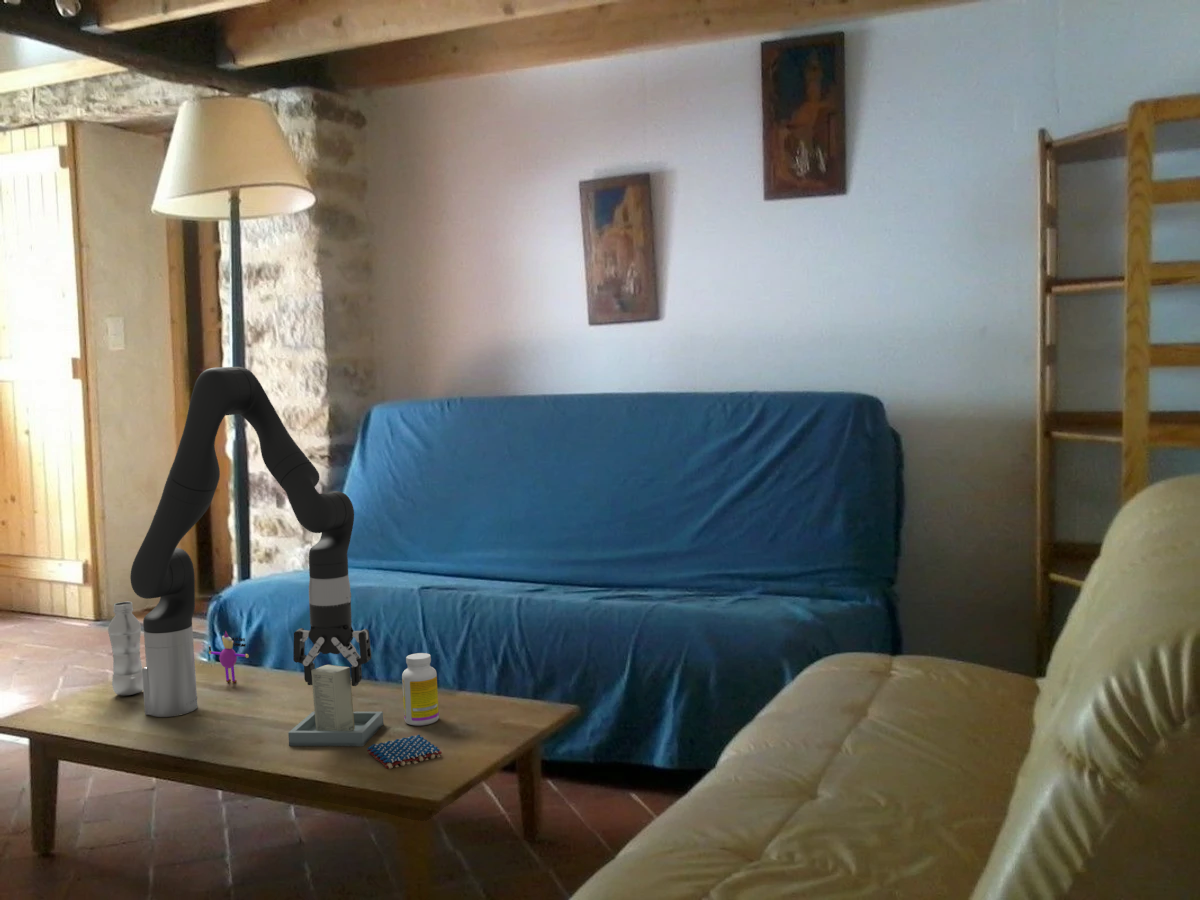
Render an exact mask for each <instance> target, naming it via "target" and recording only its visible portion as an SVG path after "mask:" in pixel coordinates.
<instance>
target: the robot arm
mask: <svg viewBox="0 0 1200 900" xmlns="http://www.w3.org/2000/svg"><path fill="white" fill-rule="evenodd" d="M233 415H234V416H235V415H240V416H241V417H243V418H244V419H245V420H246V422H248V423H249V424H250V426H251V427H252V428H253V429H254V431H255V433H256V436H257V437H258V441H259V449H260V453H261V458H262V461H263V463H264V465H265V467H266V468H267V470H268V471H269V473H270V474H271V475H272V477H273V478H274V479H275V481H276V483H278V485H279V486H280V487H281V488H282V490H284V492H285V493H286V496H287V500H288V503H289V504H290V507H291V509H292V512H293V514H294V516H295V518H296V520H297V521H298V523H299V524H300V525H301V526H302V527H303V528H304V529H305V530H307V531H308V532H310V533H313V534H321V535H320V539H319V540H318V542H317V543H315V544H314V545H313V546H311V547H310V549H309V550H308V551H309V552H308V571H309V572H308V573H309V582H308V603H309V624H310V625H309V626H310V628H309V630H305V629H304V628H303V627H301V628H298V629H297V630H296V631H294V632H293V650H292V651H293V654H292V655H293V658H292V659H293V663H299V664H301V665H302V666H303V676H304V682H305V683H307V686H312V674H311V670H313V669H316V664H315V662H314V661H315V659H316V658H317V656H318V655H319V654H320V653H321V654H322V655H327V654H333V655H340V654H341V655H342V656H343V657H344V659H346V660H347V661H348V662H349V663H350V664H351V665H352V666H350V676H351V687H357V686H358V685H359V683H360V682H361V681H362V679H363V676H362V675H363V673H362V665H364V664H367V663H368V662H370V660H371V659H372V649H371V640H370V639H371V638H370V631H369V629H368V628H364V629H362V630H354V629H353V626H352V625H353V624H352V622H353V621H352V620H353V619H352V592H351V582H350V577H349V560H348V551H349V547H350V543H351V537H352V535H353V534H352V533H353V528H354V522H355V510H354V505H353V503H352V501H351V499H350V497H349V496H348V495H347V494H346V493H344V492H342V491H336V490H335V491H328V492H325V493H323V492H322V493H320V492H319V491H318V490H317V489H316V487H317V485H318V484H319V481H320V473H319V471H318V469H317V468H316V467H315V465H314V464H313V463H312V461H311V460H310V459H309V458H308V456H307V455H306V454H305V453H304V451H303V450H302V449H301V448H300V447H299V445H298V444H297V443H296V442H295V440H294V439H293V438H292V436H291V434H290V433H289V432H288V430H287V428H286V427H285V425H284V423H283V422H282V420H281V418H280V416H279V415H278V412H277V411H276V409H275V407H274V406H273V404H272V402H271V400H270V398H269V396H268V394H267V393H266V391H265V389H264V388H263V386H262V384H261V383H260V381H259V379H258V378H257V377H256V375H255V374H254V373H253V372H252V370H249V369H248V368H245V367H242V366H226V367H225V366H222V367H211V368H207V369H205V370H204V371H202V372H201V373H200V374H199V376H198V377H197V379H196V380H195V382H194V386H193V390H192V393H191V397H190V402H189V406H188V412H187V415H186V420H185V424H184V428H183V431H182V434H181V438H180V441H179V444H178V446H177V450H176V453H175V457H174V460H173V463H172V465H171V467H170V470H169V473H168V474H167V477H166V481H165V483H164V486H163V490H162V494H161V497H160V500H159V502H158V506H157V508H156V511H155V513H154V515H153V518H152V521H151V523H150V526H149V528H148V530H147V532H146V535H145V536H144V538H143V541H142V542H141V544H140V547H139V549H138V551H137V554H136V555H135V557H134V560H133V562H132V565H131V570H130V577H129V578H130V584H131V588H132V590H133V592H134V594H135V595H137V597H140V598H141V599H157V598H158V599H159V601H158V603H157V604H156V606H155V607H154V608H153V609H151V610H150V611H149V612H148V613H147V614H146V615H145V616H144V617H143V621H142V622H143V623H142V625H143V638H144V653H145V666H144V667H142V677H143V691H142V692H143V702H144V703H143V704H144V715H149V716H152V717H157V718H169V717H177V716H182V715H187V714H189V713H192V712H193V711H195V710H197V708H198V706H199V705H198V693H197V676H196V675H197V674H196V662H195V660H196V659H195V645H194V631H193V616H194V614H195V610H196V609H195V608H196V597H195V596H196V595H195V594H196V593H195V592H196V590H195V588H196V587H195V586H196V585H195V582H196V581H195V568H194V564H193V561H192V559H191V556H190V554H188V552H187V551H186V550H184V549H182V548H179V547H177V546H178V545H179V543H180V542H181V541H182V540H183V538H184V536H185V535H186V534H188V533H189V531H190V530H191V529H192V528H193V527H194V526H195V525H196V524H197V523H198V522H199V520H200V519H201V518H202V517H203V515H205V513H206V512H207V511H208V509H209V507H210V506H211V503H212V501H213V498H214V496H215V493H216V490H217V488H218V487H217V486H219V485H218V484H219V481H220V477H221V474H220V472H221V471H220V466H219V465H220V463H219V460H218V457H217V452H216V448H215V447H216V446H215V444H216V437H217V434H218V432H219V428H220V426H221V423H222V421H223V419H224V418H225V416H233ZM308 638H309V640H310V641H311V643H312V645H313V646H312V647H311V649H310V650H309V652H308V653H307V655H306V653H305V652H306V651H305V648H306V647H305V646H306V645H305V644H306V641H307V640H308ZM354 638H355V641H356V643H358V644H359V653H360V654H359V653H358V652H357V649H356V647H355V645H353V644H352V640H353V639H354Z"/></svg>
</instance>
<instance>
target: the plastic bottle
mask: <svg viewBox="0 0 1200 900" xmlns="http://www.w3.org/2000/svg"><path fill="white" fill-rule="evenodd" d="M133 607H134V605H133V602H132V601H122V602H121V601H120V602H116V603H114V604H113V614H114V617H112V619H111V621H110V622H109V624H108V627H107V632H108V637H109V641H110V644H111V650H112V654H113V655H112V658H113V659H112V660H113V662H112V663H113V669H112V673H113V674H112V677H111V678H112V680H111V687H112V690H113V692H114V694H116V695H118V696H131V695H136V694H139V693H141V692H143V677H142V669H143V665H142V659H141V658H142V657H141V651H140V650H141V634H142V633H141V631H142V625H141V623H140V620H139V619H138V618H137V617H136V616H135V615H134V614H133V612H134V608H133Z"/></svg>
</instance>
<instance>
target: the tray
mask: <svg viewBox="0 0 1200 900" xmlns="http://www.w3.org/2000/svg"><path fill="white" fill-rule="evenodd" d="M353 714H354V726H355V729H354V730H352V731H316V723H315V711H311V713H309V714H308V715H307V716H306V717H305V718H303V719H302V720H301V721H300V722H299V723H297V725H296V726H294V727H293V728H292V729H290V730H289V731H288V732H287V734H288V746H289V747H303V746H304V747H364V746H365V744H367V743H368V742H369V740H370V739H372V737H373V736H374V735H376V733H377V732H378V731H379V730H380V729H381V728H382V726H384V725H385V724H384V712H383V711H353Z"/></svg>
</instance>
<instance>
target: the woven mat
mask: <svg viewBox="0 0 1200 900" xmlns="http://www.w3.org/2000/svg"><path fill="white" fill-rule="evenodd" d="M424 738H425V737H423V736H421V735H420V734H416V735H411V736H408V737H402V738H395V740H387V741H384V742H379V743H373V744H372V745H370V746H369V747H367V750H366V751H367V752H368V754H369V755H370V756H372V757H374V759H375V760H377V762H379V763H381V764H382V765H383V766H384V768H386V769H389V770H390V769H393V768H394V767H395V768H398V767H400V766H401V767H404V766H405V765H411V763H413V764H418V763H419V762H423V761H424V760H425V761H428V760H429V758H430V759H431V760H434V759H435V758H441V754H442V753H443V752H442V751H441V750H440V749H439V748H438V746H435V744H432V743H431V742H430V741H428V740H427V739H424ZM399 765H400V766H399Z"/></svg>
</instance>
